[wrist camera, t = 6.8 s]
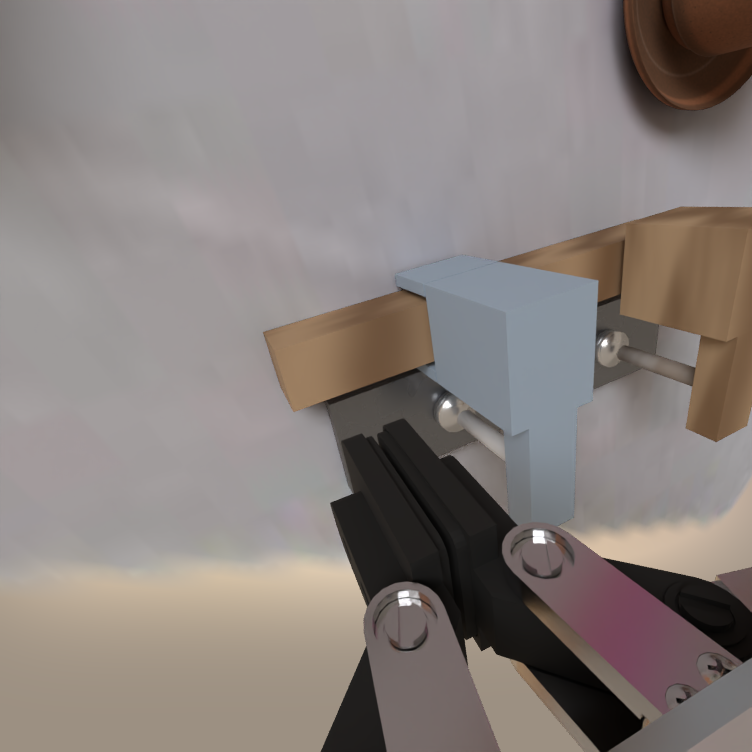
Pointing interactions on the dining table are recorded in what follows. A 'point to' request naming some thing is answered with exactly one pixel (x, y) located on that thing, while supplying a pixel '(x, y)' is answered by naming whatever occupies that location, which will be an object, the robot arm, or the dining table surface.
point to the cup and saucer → (690, 48)
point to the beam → (615, 276)
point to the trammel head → (515, 368)
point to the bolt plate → (441, 408)
